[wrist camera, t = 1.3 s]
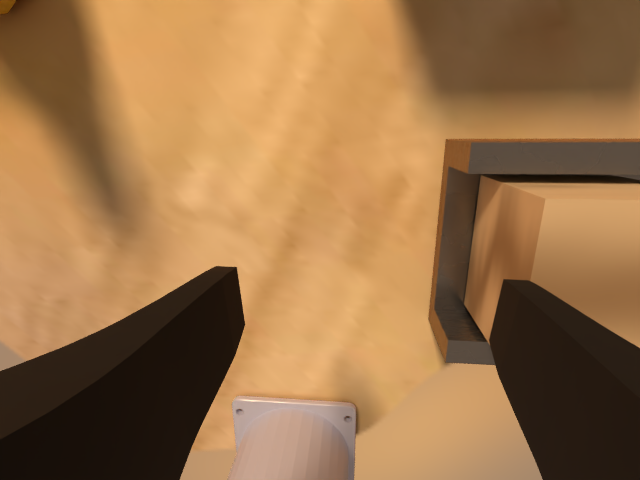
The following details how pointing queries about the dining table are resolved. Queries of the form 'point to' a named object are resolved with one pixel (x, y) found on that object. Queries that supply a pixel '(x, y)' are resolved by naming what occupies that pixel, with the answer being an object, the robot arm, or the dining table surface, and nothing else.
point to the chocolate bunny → (6, 6)
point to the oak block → (559, 245)
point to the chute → (460, 210)
